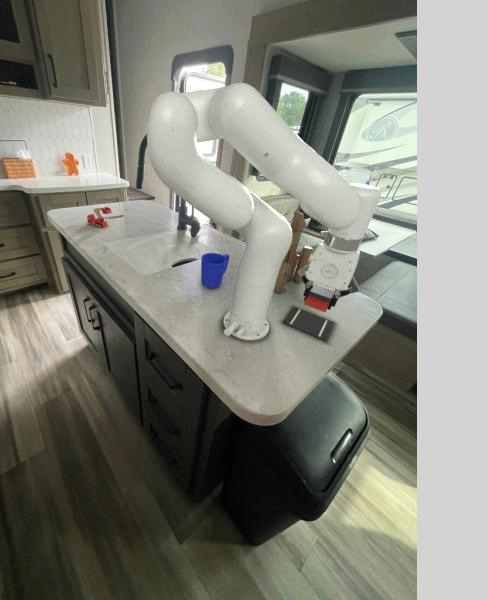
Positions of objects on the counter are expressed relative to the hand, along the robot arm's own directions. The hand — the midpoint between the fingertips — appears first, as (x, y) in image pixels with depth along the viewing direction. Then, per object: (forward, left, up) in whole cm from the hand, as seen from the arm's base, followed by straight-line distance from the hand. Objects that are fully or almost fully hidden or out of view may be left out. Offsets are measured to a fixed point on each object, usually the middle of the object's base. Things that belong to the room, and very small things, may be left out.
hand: (318, 302), depth 74 cm
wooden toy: (+17, +14, -8) cm, 24 cm away
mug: (+1, +33, -8) cm, 34 cm away
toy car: (0, 0, +1) cm, 1 cm away
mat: (0, 0, -7) cm, 7 cm away
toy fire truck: (+9, +104, -8) cm, 105 cm away
